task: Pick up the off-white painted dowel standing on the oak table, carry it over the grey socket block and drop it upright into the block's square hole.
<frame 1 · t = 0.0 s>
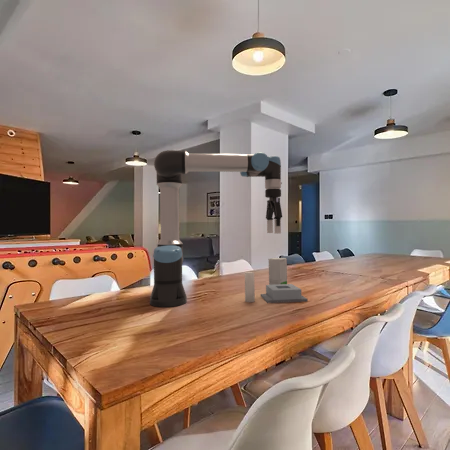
hand: (273, 233, 145), 28 cm above the table, fingers open, 13 cm apart
dowel: (249, 301, 127), on the table
socket: (283, 298, 131), on the table
skincare box: (278, 290, 149), on the table
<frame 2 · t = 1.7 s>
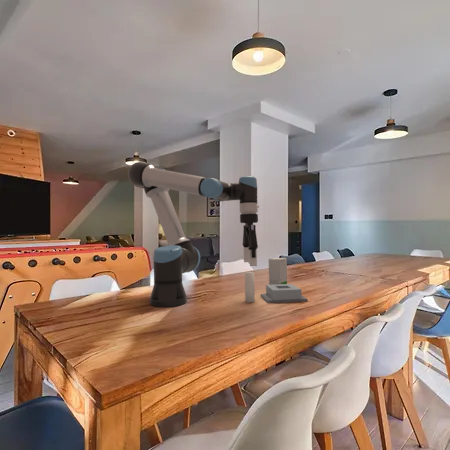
hand: (250, 264, 127), 16 cm above the table, fingers open, 13 cm apart
nothing on the table moved.
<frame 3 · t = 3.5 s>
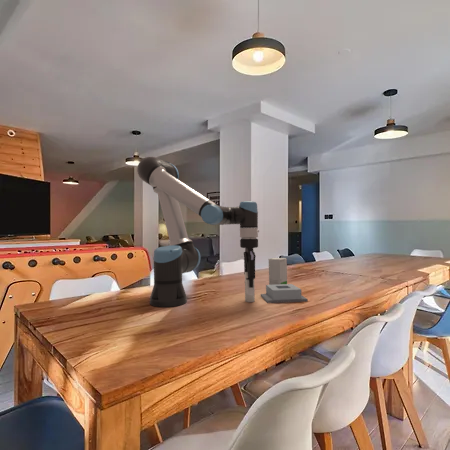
hand: (249, 293, 127), 3 cm above the table, fingers closed on dowel, 4 cm apart
dowel: (249, 301, 127), on the table, touching gripper
everything else where it was.
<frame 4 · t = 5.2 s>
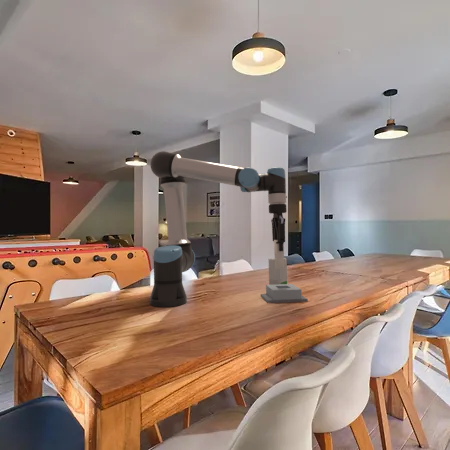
hand: (279, 258, 130), 18 cm above the table, fingers closed on dowel, 4 cm apart
dowel: (279, 267, 130), point 13 cm above the table, touching gripper
everything else where it was.
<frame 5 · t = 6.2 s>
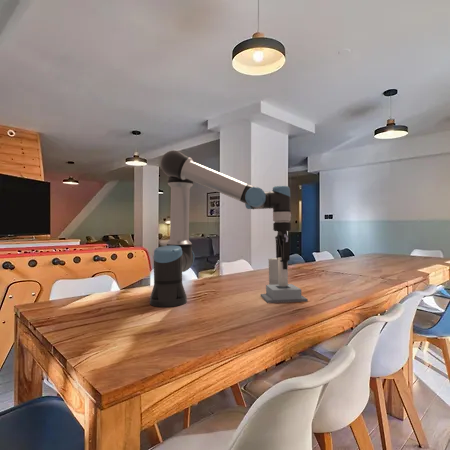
hand: (282, 275, 131), 10 cm above the table, fingers closed on dowel, 4 cm apart
dowel: (283, 285, 131), point 6 cm above the table, touching gripper
everything else where it was.
when the fingers open (7 cm above the table, at t = 7.1 s): dowel drops 1 cm, resting on socket.
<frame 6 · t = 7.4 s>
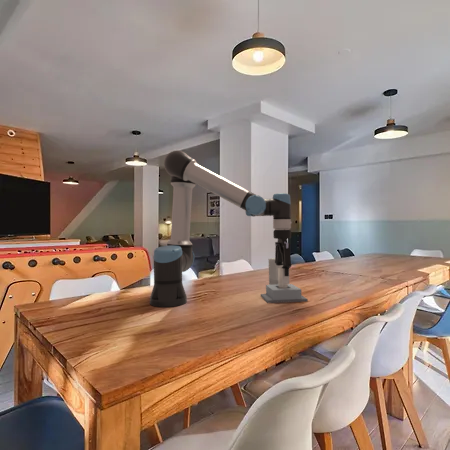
hand: (282, 281, 131), 7 cm above the table, fingers open, 8 cm apart
dowel: (283, 296, 131), point 1 cm above the table, touching socket
everything else where it was.
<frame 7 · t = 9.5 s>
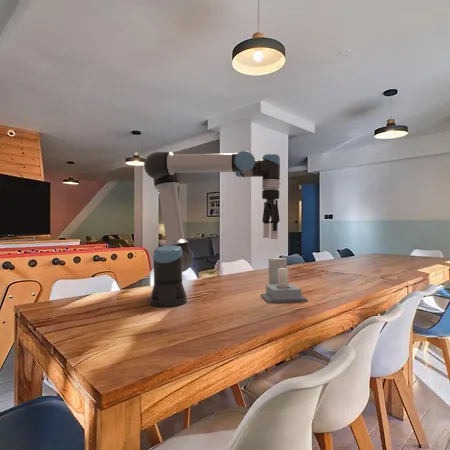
hand: (269, 238, 133), 26 cm above the table, fingers open, 13 cm apart
nothing on the table moved.
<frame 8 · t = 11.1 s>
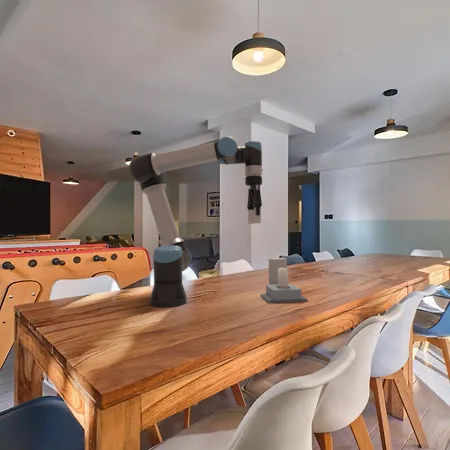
hand: (254, 223, 136), 33 cm above the table, fingers open, 13 cm apart
nothing on the table moved.
at the end: dowel 0.0 cm off-centre on the socket, point 1.0 cm above the socket's base; dowel tilted 0°; the gripper is holding nothing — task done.
